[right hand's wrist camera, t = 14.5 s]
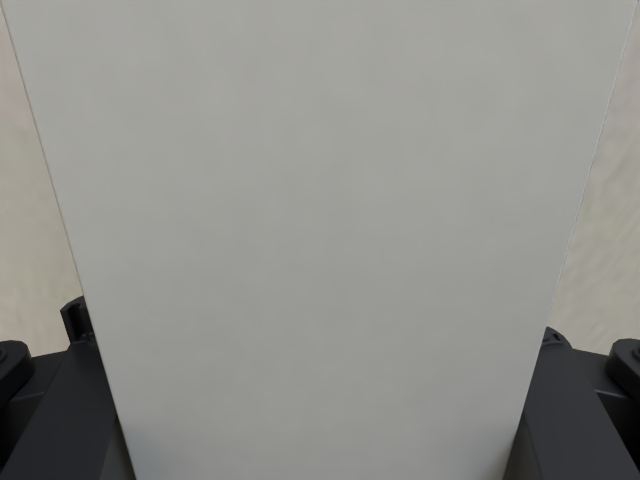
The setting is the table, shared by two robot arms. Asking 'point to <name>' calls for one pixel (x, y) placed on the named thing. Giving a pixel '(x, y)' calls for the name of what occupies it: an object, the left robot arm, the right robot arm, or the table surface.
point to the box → (319, 218)
